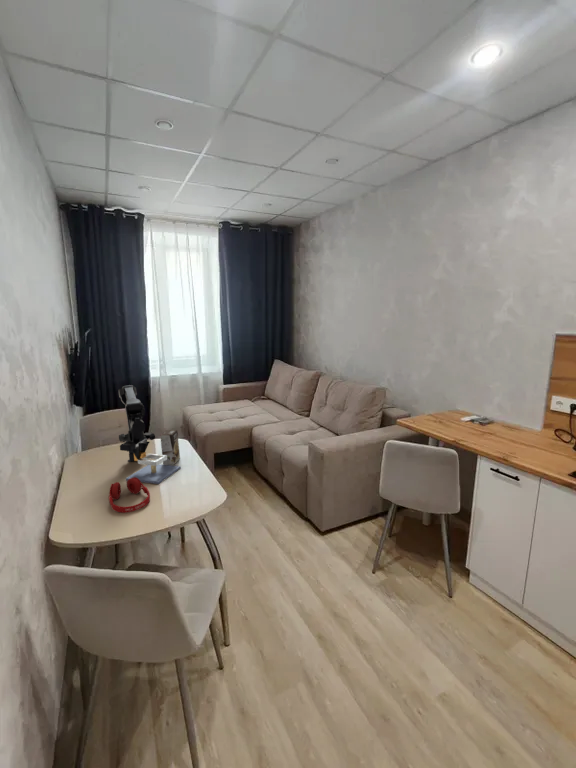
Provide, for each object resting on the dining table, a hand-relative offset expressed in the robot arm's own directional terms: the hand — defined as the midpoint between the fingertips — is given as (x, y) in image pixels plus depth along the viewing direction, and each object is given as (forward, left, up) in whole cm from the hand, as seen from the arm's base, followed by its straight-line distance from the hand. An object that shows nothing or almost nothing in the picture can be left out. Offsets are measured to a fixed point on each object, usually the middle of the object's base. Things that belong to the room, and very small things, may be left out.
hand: (140, 458), depth 179 cm
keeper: (0, +7, -8) cm, 11 cm away
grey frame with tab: (0, +5, -1) cm, 5 cm away
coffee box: (-16, +6, -8) cm, 19 cm away
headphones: (+26, +15, -8) cm, 30 cm away
